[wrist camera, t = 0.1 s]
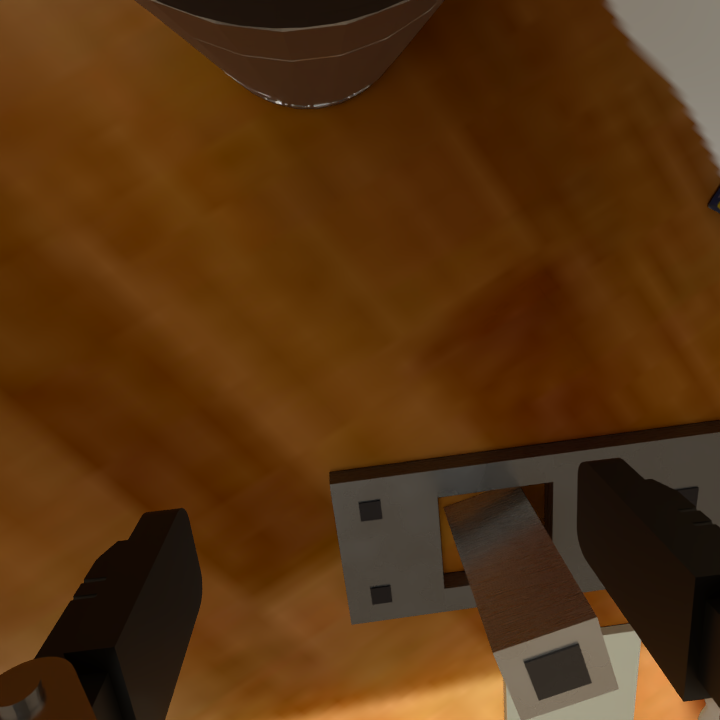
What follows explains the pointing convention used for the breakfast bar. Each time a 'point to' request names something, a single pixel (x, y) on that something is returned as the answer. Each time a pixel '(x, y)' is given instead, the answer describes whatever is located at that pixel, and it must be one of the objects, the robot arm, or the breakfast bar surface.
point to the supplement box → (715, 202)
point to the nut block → (529, 604)
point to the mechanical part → (710, 711)
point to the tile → (611, 710)
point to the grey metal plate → (483, 473)
